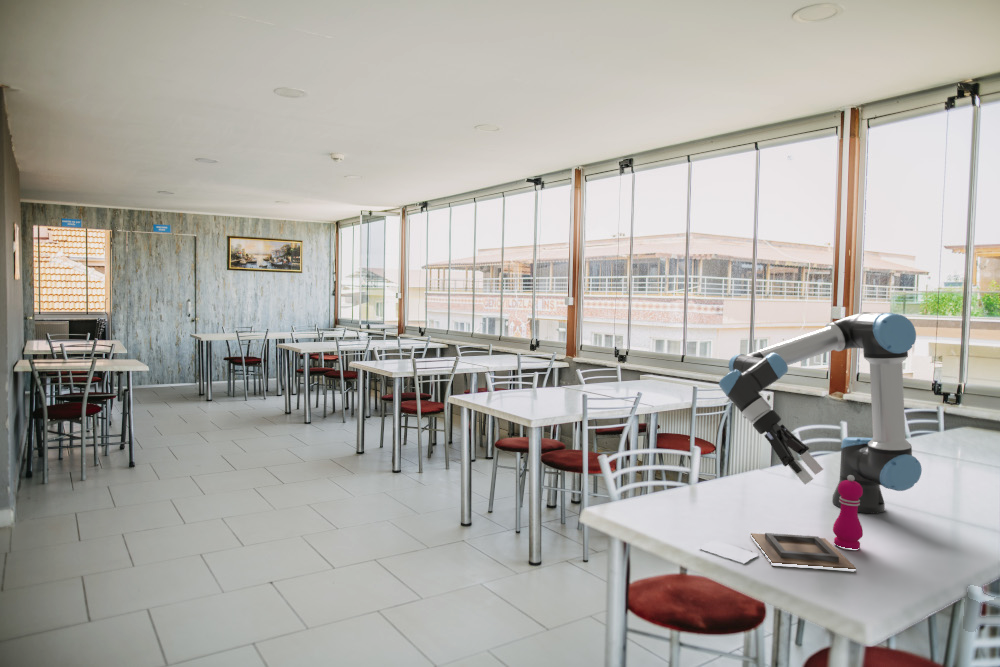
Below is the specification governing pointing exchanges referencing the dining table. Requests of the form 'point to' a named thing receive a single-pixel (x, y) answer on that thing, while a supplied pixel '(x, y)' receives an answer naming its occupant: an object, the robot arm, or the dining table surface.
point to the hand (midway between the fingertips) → (814, 476)
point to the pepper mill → (848, 515)
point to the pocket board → (801, 550)
